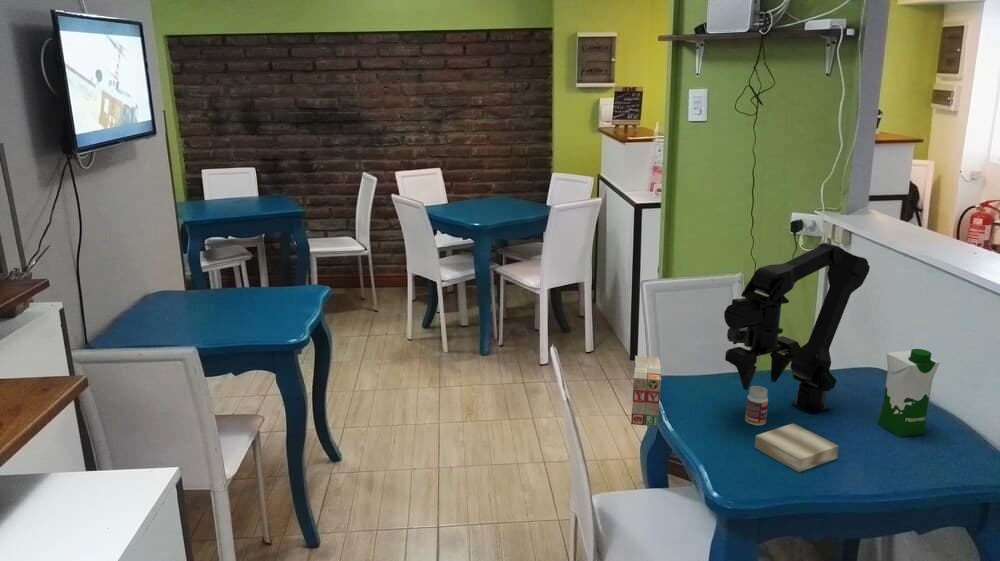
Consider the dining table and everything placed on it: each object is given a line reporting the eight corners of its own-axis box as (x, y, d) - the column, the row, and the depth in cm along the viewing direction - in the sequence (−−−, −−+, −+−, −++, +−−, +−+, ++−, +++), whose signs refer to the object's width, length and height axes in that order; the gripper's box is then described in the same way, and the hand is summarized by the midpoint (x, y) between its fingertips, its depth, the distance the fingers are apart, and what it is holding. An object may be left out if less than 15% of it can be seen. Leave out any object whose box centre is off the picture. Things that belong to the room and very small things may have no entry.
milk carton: (898, 439, 170) (912, 357, 164) (870, 421, 178) (883, 343, 173) (931, 435, 172) (946, 354, 166) (902, 417, 180) (915, 340, 175)
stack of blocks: (633, 388, 197) (635, 344, 194) (657, 390, 196) (660, 345, 192) (630, 425, 177) (633, 376, 174) (658, 427, 176) (661, 379, 172)
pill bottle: (763, 427, 175) (766, 394, 173) (742, 422, 178) (745, 390, 176) (768, 420, 179) (771, 387, 177) (747, 415, 182) (751, 383, 179)
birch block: (791, 435, 172) (793, 423, 171) (837, 458, 162) (838, 445, 161) (754, 447, 166) (755, 435, 166) (798, 472, 156) (800, 459, 155)
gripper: (767, 306, 183) (761, 366, 187) (710, 319, 174) (705, 381, 178) (805, 320, 173) (797, 382, 178) (747, 333, 165) (740, 398, 169)
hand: (759, 385), depth 176 cm, fingers open, 9 cm apart
